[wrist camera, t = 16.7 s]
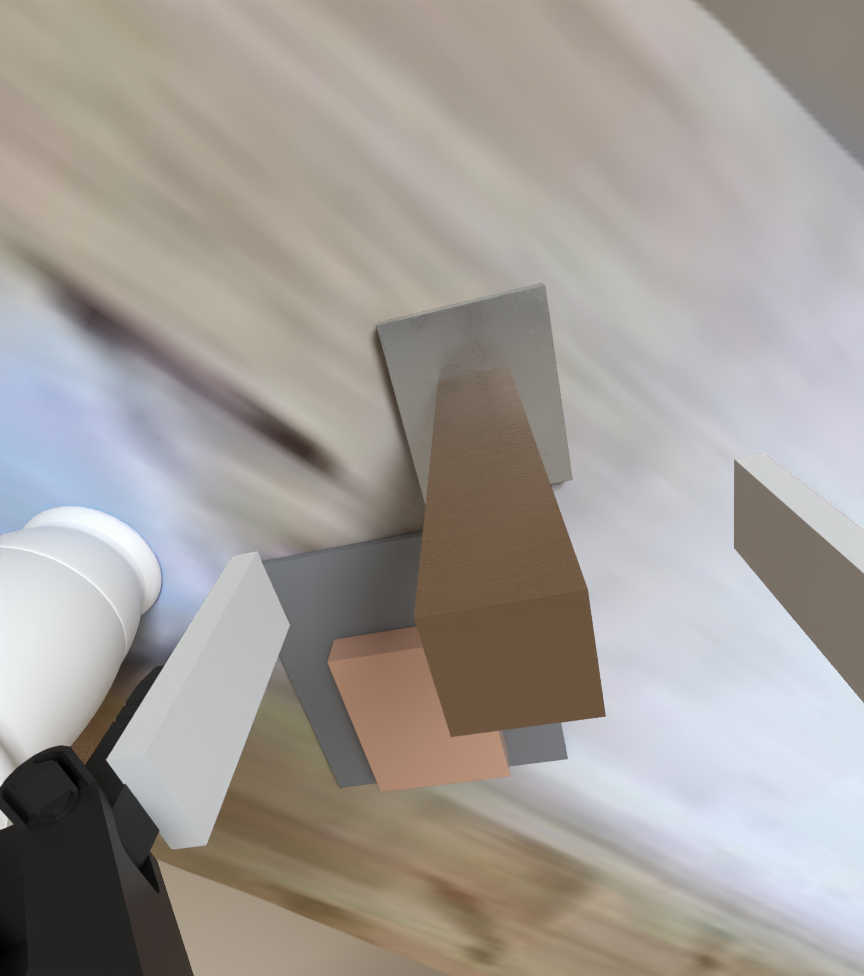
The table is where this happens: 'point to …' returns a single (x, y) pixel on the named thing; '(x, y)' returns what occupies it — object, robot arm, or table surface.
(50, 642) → the jar
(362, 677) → the terracotta tile
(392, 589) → the slate rubber mat
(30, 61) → the table surface
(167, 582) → the table surface
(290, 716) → the table surface
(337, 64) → the table surface
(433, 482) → the tall wooden post
